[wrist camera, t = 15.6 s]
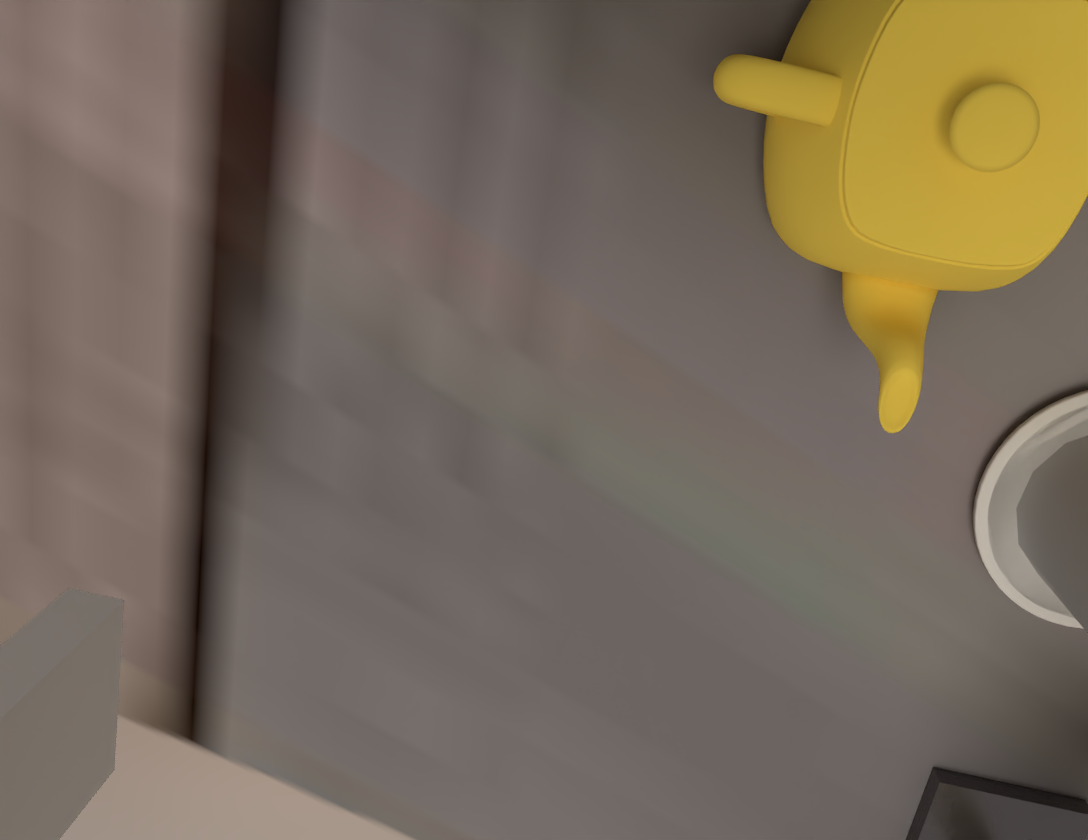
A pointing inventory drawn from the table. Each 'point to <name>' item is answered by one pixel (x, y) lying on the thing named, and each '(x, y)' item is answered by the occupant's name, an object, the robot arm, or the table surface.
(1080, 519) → the cup
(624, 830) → the table surface
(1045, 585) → the dish
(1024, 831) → the balance
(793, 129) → the teapot
